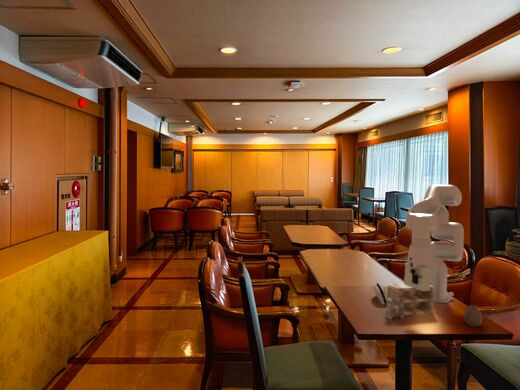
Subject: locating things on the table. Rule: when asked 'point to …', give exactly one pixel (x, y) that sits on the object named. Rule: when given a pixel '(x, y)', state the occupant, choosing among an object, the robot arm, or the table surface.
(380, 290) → the white electronic device
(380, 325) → the table surface
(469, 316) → the vase
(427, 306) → the cabinet
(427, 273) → the pale white box
